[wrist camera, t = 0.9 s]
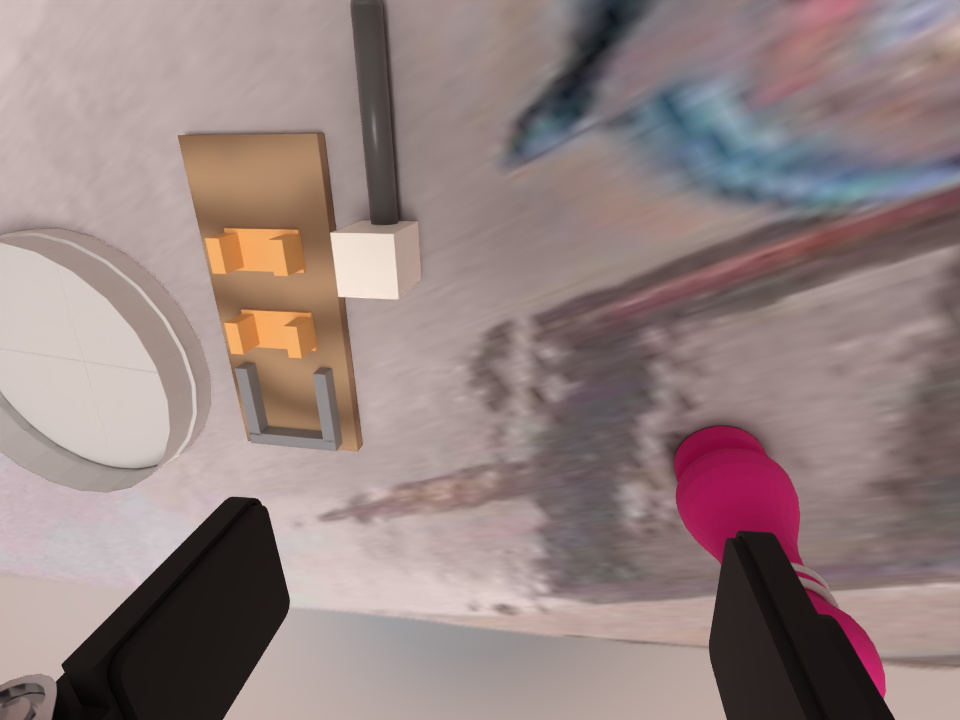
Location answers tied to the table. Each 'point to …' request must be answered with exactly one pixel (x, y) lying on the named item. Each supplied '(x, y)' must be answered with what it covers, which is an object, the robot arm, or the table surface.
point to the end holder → (291, 436)
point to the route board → (274, 205)
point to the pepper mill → (753, 514)
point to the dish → (93, 363)
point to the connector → (375, 181)
